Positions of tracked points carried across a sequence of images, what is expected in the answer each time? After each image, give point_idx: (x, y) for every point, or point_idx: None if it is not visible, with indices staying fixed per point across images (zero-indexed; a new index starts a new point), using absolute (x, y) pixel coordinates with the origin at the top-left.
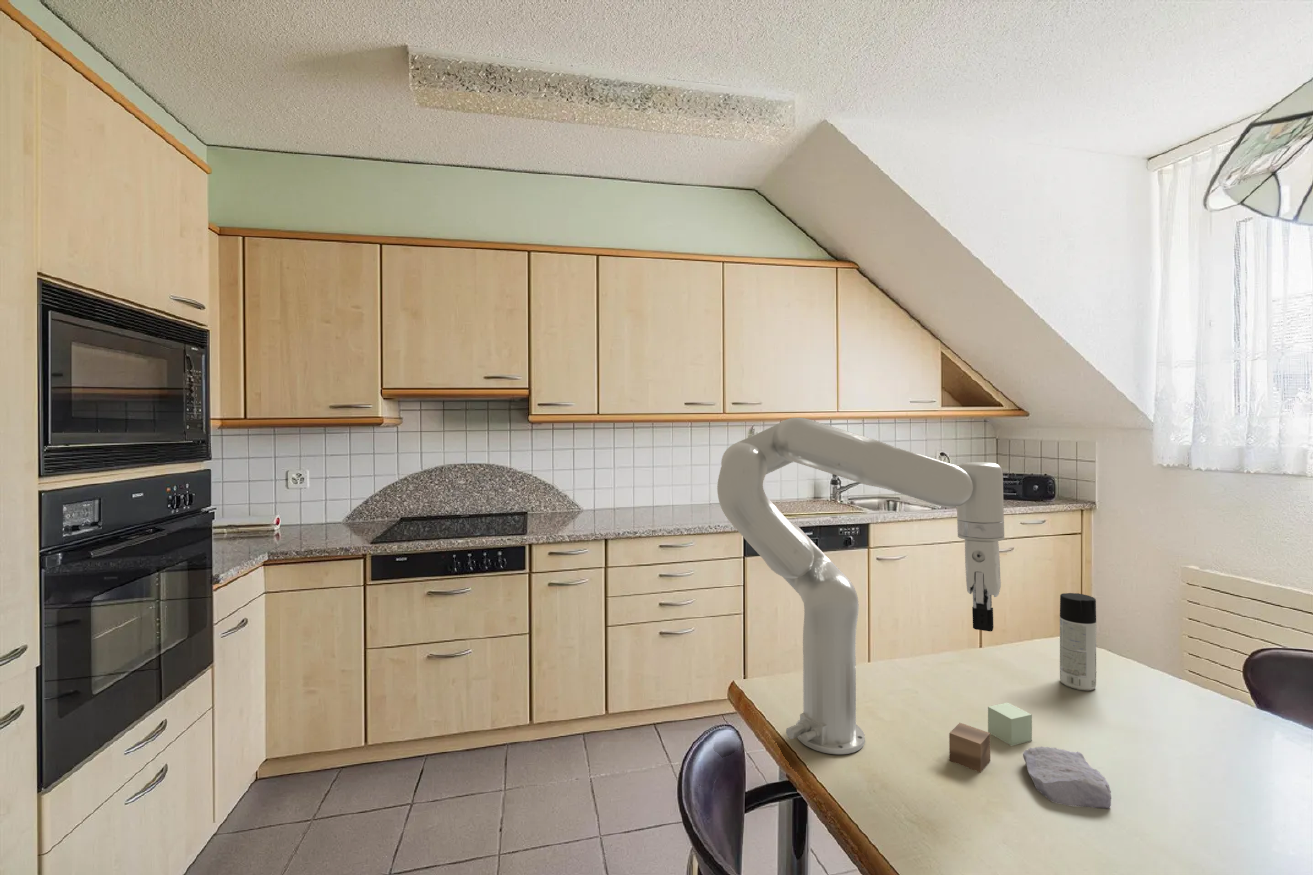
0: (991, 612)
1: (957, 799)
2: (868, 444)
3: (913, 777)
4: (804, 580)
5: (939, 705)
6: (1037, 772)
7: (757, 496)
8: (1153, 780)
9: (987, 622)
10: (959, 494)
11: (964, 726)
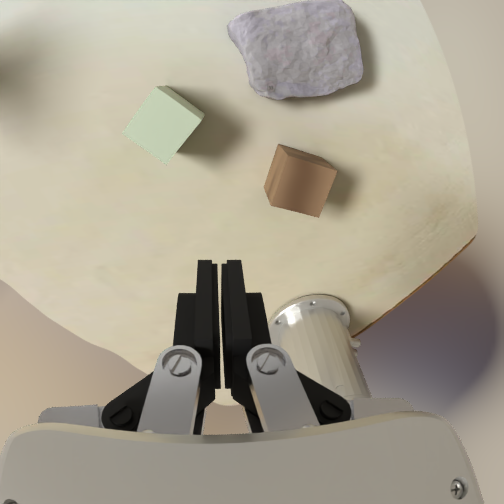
0: (249, 328)
1: (393, 185)
2: None
3: (365, 234)
4: None
5: (123, 232)
6: (326, 84)
7: None
8: None
9: (250, 301)
10: None
11: (283, 197)
